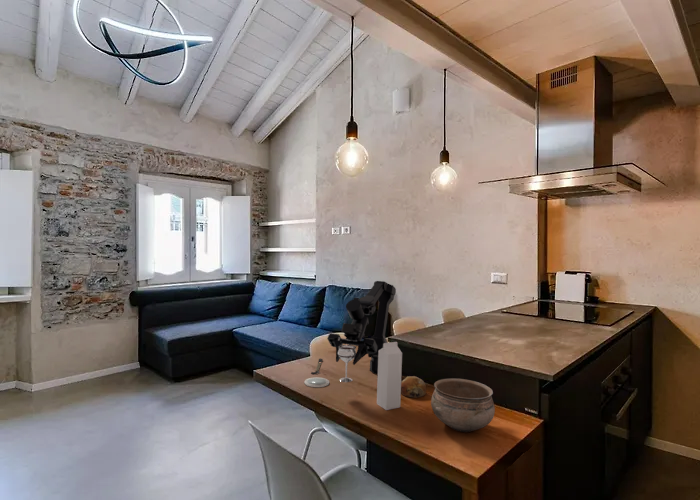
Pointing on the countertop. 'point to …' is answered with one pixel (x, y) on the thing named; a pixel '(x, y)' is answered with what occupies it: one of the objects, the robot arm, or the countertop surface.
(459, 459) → the countertop surface
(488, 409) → the cooking pot
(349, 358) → the wineglass
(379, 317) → the robot arm
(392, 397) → the milk
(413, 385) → the bread roll
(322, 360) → the tactical tomahawk
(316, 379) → the plate
